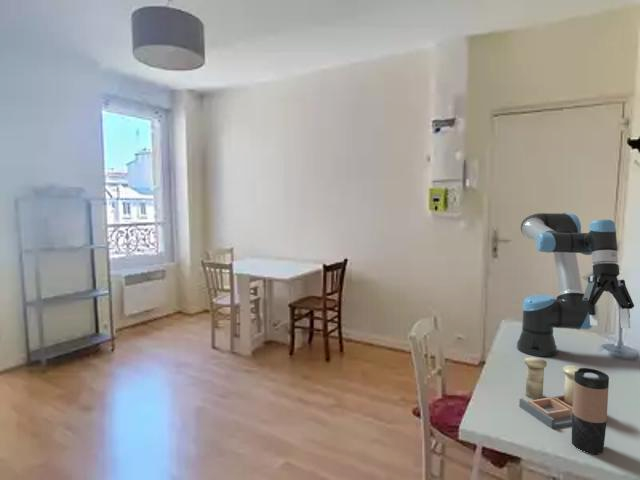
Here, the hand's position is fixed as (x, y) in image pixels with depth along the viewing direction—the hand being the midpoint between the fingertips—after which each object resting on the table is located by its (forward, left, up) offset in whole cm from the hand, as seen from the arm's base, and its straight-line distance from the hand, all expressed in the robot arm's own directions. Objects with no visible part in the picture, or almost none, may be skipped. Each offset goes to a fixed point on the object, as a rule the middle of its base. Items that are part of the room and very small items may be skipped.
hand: (610, 327), depth 140 cm
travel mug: (+24, -34, -22) cm, 47 cm away
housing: (+8, -27, -22) cm, 35 cm away
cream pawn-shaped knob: (-3, -27, -22) cm, 35 cm away
